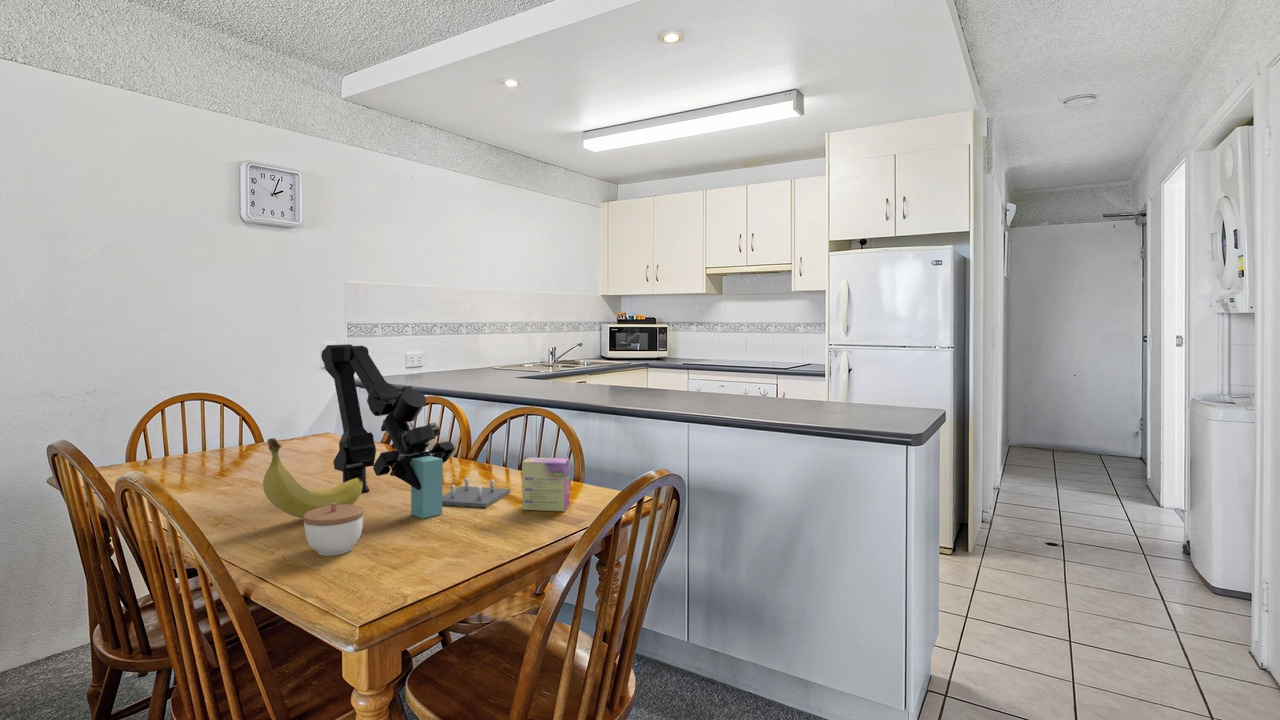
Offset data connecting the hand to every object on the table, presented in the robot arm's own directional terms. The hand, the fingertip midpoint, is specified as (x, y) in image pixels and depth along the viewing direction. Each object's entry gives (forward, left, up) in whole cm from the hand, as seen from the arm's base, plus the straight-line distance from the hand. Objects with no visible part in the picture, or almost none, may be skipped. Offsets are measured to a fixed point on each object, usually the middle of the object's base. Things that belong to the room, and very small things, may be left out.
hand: (430, 486), depth 151 cm
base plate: (-9, +12, -7) cm, 17 cm away
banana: (-11, -23, -7) cm, 26 cm away
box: (+8, +25, -7) cm, 28 cm away
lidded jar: (+14, -22, -7) cm, 26 cm away
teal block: (-1, -1, -7) cm, 7 cm away
